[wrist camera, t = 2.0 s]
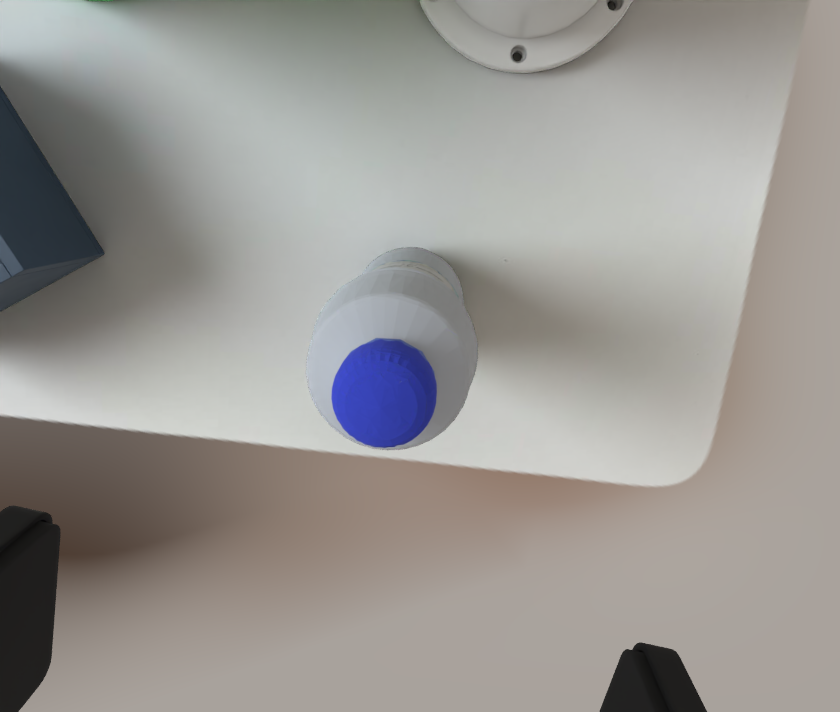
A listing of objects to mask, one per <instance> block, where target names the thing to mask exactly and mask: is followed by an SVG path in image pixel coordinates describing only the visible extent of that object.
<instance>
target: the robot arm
mask: <svg viewBox="0 0 840 712" xmlns="http://www.w3.org/2000/svg"><path fill="white" fill-rule="evenodd" d="M609 1H612V2H614V4H615V9H614V10H610V9H609V8H608V6H607V3H608V2H609ZM632 1H633V0H434V1H432V0H419V2H420V4H421V7H422V9H423V11H424V13H425V14H426V16H427V17H428V19H429V20H430V22H431V24H432V25H433V27H434V28H435V30H436V31H437V32H438V33H439V34H440V35H441V36H442V37H443V39H444V40H445V41H446V42H447V43H448V44H449V45H450V46H451V47H452V48H454V49H455V50H457V51H458V52H459V53H461V54H462V55H464V56H465V57H466V58H468V59H469V60H471V61H474V62H476V63H478V64H480V65H483V66H485V67H487V68H490V69H495V70H499V71H504V72H509V73H533V72H538V71H543V70H548V69H553V68H556V67H558V66H560V65H563V64H565V63H567V62H570V61H572V60H575V59H576V58H578V57H579V56H581V55H582V54H584V53H585V52H587V51H588V50H590V49H591V48H593V47H594V46H595V45H596V44H597V43H598V42H599V41H601V40H602V39H603V38H604V37H605V36H606V35H607V34H608V33H609V32H610V31H611V30H612V29H613V27H614V26H615V25H616V24H617V23H618V22H619V21H620V19H621V18H622V17H623V16H624V14H625V13H626V11H627V9H628V8H629V6H630V4H631V3H632ZM516 52H518V53H520V54H521V57H522V58H521V60H520V61H518V62H517V61H514V59H513V54H514V53H516ZM59 545H60V528H59V526H58V525H55V524H52V517H51V515H50V514H48V513H46V512H41V511H36V510H32V509H27V508H23V507H18V506H9V507H7V508H5V509H3V510H2V511H1V512H0V712H18V711H19V710H20V709H21V708H22V706H23V705H24V704H25V703H26V701H27V700H28V699H29V698H30V696H31V695H32V694H33V693H34V692H35V690H36V689H37V688H38V687H39V685H40V683H41V682H42V681H43V679H44V677H45V676H46V673H47V671H48V669H49V666H50V663H51V656H52V642H53V629H54V615H55V600H56V587H57V573H58V559H59ZM600 712H707V711H706V709H705V707H704V705H703V703H702V701H701V699H700V697H699V695H698V693H697V691H696V689H695V687H694V685H693V683H692V681H691V679H690V677H689V675H688V673H687V671H686V669H685V667H684V665H683V663H682V661H681V659H680V657H679V655H678V654H677V652H676V651H674V650H672V649H668V648H664V647H659V646H654V645H650V644H645V643H637V644H636V645H635V646H634V648H633V650H629V649H626V650H625V651H624V652H623V653H622V655H621V657H620V660H619V663H618V665H617V668H616V670H615V673H614V675H613V678H612V681H611V683H610V686H609V688H608V691H607V693H606V696H605V699H604V701H603V704H602V707H601V709H600Z"/></svg>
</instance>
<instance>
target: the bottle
mask: <svg viewBox="0 0 840 712" xmlns="http://www.w3.org/2000/svg"><path fill="white" fill-rule="evenodd" d="M477 359H478V344H477V337H476V333H475V329H474V326H473V323H472V321H471V319H470V317H469V315H468V312H467V310H466V309H465V307H464V299H463V291H462V287H461V284H460V281H459V279H458V277H457V275H456V273H455V272H454V270H453V269H452V267H451V266H450V265H449V264H448V263H447V262H445V261H444V260H443V259H442V258H441V257H439V256H437V255H436V254H434V253H432V252H430V251H428V250H425V249H423V248H417V247H407V248H399V249H395V250H391V251H388V252H386V253H384V254H382V255H380V256H378V257H377V258H376V259H375V260H373V261H372V262H371V263H370V264H369V265H368V267H367V268H366V269H365V270H364V272H363V273H362V275H360V276H358V277H357V278H355V279H353V280H352V281H350V282H348V283H346V284H345V285H344V286H342V287H341V288H340V289H338V290H337V291H336V293H335V294H334V295H333V296H332V297H331V298H330V299H329V300H328V301H327V303H326V304H325V306H324V307H323V309H322V310H321V312H320V314H319V317H318V319H317V321H316V324H315V327H314V331H313V336H312V341H311V344H310V347H309V351H308V356H307V367H306V375H307V381H308V388H309V391H310V394H311V397H312V399H313V401H314V404H315V406H316V408H317V409H318V411H319V412H320V414H321V415H322V417H323V418H324V419H325V420H326V421H327V422H328V424H329V425H330V426H331V427H332V428H333V429H335V430H336V431H337V432H339V433H340V434H341V435H343V436H344V437H346V438H347V439H349V440H351V441H353V442H355V443H357V444H360V445H363V446H367V447H370V448H373V449H382V450H400V449H407V448H411V447H414V446H418V445H420V444H423V443H425V442H427V441H430V440H431V439H433V438H434V437H436V436H437V435H439V434H440V433H441V432H443V431H444V430H446V428H447V427H448V426H449V425H450V424H451V423H452V422H453V421H454V420H455V418H456V417H457V415H458V414H459V412H460V410H461V409H462V407H463V405H464V403H465V400H466V398H467V395H468V391H469V387H470V385H471V383H472V380H473V378H474V375H475V371H476V367H477Z"/></svg>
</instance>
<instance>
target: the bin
mask: <svg viewBox="0 0 840 712" xmlns="http://www.w3.org/2000/svg"><path fill="white" fill-rule="evenodd" d="M104 254H105V253H104V252H103V250H102V248H101V247H100V245H99V244H98V242H97V240H96V239H95V237H94V236H93V234H92V232H91V231H90V229H89V228H88V226H87V224H86V223H85V221H84V220H83V218H82V216H81V215H80V213H79V212H78V210H77V208H76V207H75V205H74V204H73V202H72V200H71V199H70V197H69V196H68V194H67V192H66V191H65V189H64V188H63V186H62V184H61V183H60V181H59V180H58V178H57V176H56V175H55V173H54V172H53V170H52V168H51V167H50V165H49V164H48V162H47V160H46V159H45V157H44V156H43V154H42V152H41V151H40V149H39V148H38V146H37V144H36V143H35V141H34V140H33V138H32V136H31V135H30V133H29V132H28V130H27V128H26V127H25V125H24V124H23V122H22V120H21V119H20V117H19V116H18V114H17V113H16V111H15V109H14V108H13V106H12V105H11V103H10V101H9V100H8V98H7V97H6V95H5V93H4V92H3V90H2V89H1V87H0V312H1V311H3V310H4V309H6V308H8V307H10V306H12V305H13V304H15V303H17V302H19V301H21V300H22V299H24V298H26V297H28V296H30V295H31V294H33V293H35V292H37V291H39V290H40V289H42V288H44V287H46V286H48V285H50V284H51V283H53V282H55V281H57V280H59V279H60V278H62V277H64V276H66V275H68V274H69V273H71V272H73V271H75V270H77V269H78V268H80V267H82V266H84V265H86V264H87V263H89V262H91V261H93V260H95V259H97V258H98V257H100V256H102V255H104Z"/></svg>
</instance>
